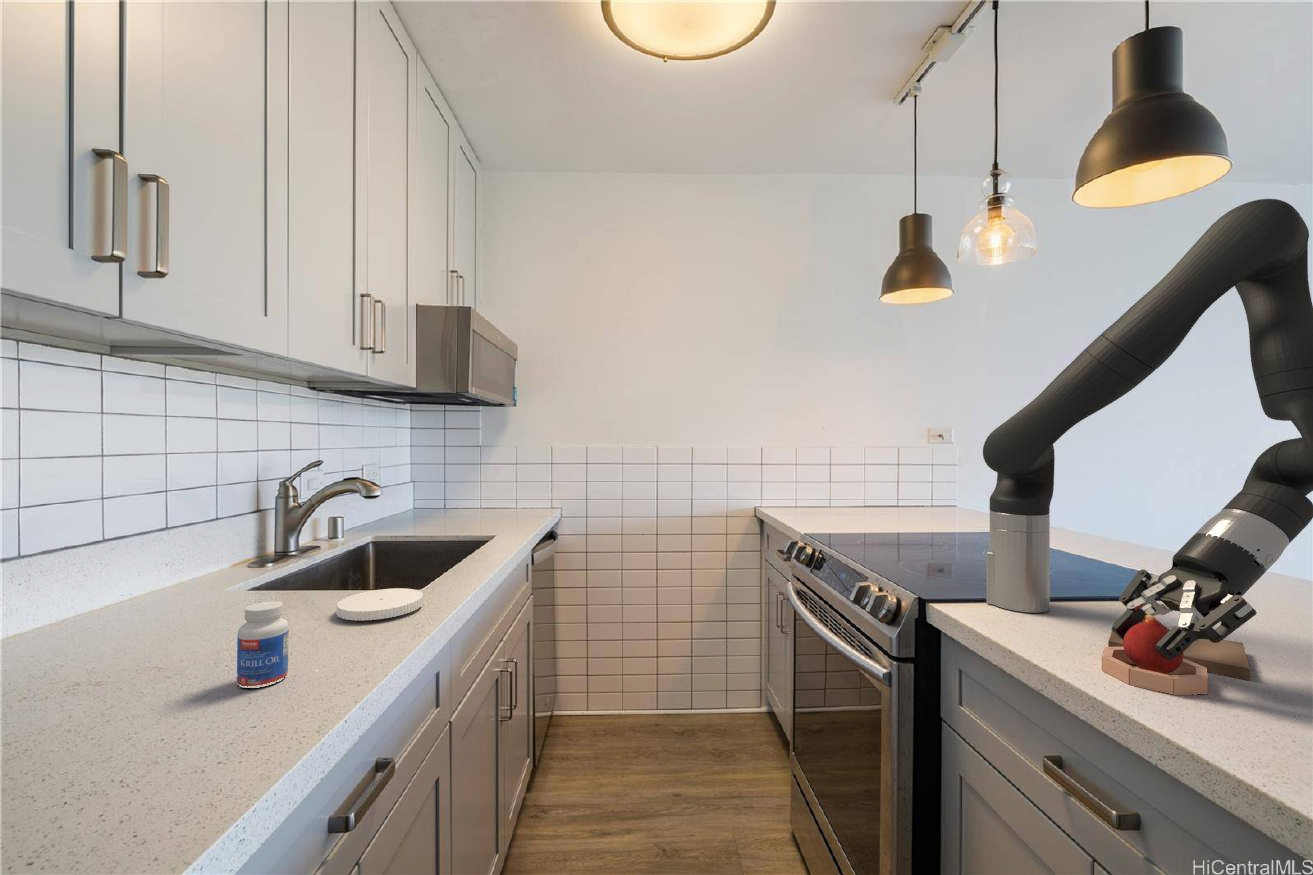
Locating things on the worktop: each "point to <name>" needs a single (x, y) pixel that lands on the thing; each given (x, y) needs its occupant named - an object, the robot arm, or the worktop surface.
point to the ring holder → (1156, 674)
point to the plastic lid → (379, 604)
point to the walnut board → (1211, 656)
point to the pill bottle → (262, 645)
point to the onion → (1149, 646)
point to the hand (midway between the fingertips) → (1139, 644)
